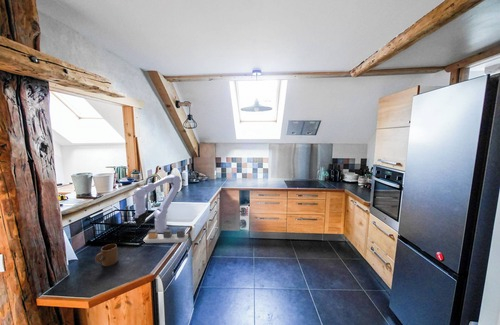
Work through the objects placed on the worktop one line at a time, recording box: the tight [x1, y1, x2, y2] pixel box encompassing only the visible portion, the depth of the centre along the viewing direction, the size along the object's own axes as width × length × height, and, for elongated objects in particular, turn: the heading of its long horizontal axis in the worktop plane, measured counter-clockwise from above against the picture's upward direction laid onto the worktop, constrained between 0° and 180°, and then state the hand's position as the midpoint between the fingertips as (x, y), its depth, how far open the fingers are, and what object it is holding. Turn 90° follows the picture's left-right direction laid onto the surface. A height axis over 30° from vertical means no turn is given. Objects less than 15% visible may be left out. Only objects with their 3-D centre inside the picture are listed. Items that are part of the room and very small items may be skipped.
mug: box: [94, 243, 119, 267], centre depth 113 cm, size 12×8×9 cm, turn 167°
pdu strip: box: [142, 228, 189, 244], centre depth 140 cm, size 7×28×7 cm, turn 94°
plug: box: [147, 228, 158, 239], centre depth 140 cm, size 4×4×7 cm
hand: (141, 223), depth 144 cm, fingers open, 7 cm apart
